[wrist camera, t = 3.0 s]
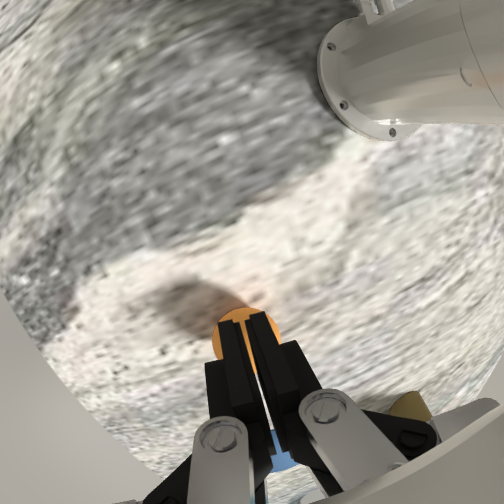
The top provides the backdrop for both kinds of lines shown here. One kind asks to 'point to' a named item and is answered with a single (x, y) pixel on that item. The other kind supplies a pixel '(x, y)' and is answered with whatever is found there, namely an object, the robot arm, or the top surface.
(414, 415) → the olive chess pawn
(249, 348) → the ball
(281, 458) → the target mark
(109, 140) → the top surface
